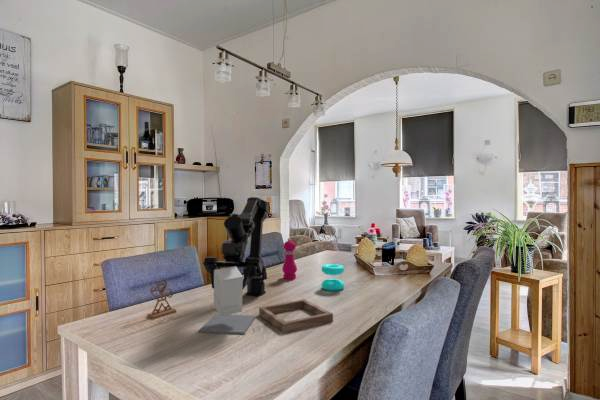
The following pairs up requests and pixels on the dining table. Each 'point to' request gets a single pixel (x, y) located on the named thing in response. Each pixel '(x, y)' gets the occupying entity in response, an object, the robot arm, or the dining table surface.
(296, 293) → the dining table surface
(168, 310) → the brown openwork stand
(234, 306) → the supplement box
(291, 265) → the pepper mill
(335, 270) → the donuts
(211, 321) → the slate mat
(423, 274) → the dining table surface
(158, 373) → the dining table surface
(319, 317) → the walnut pocket
